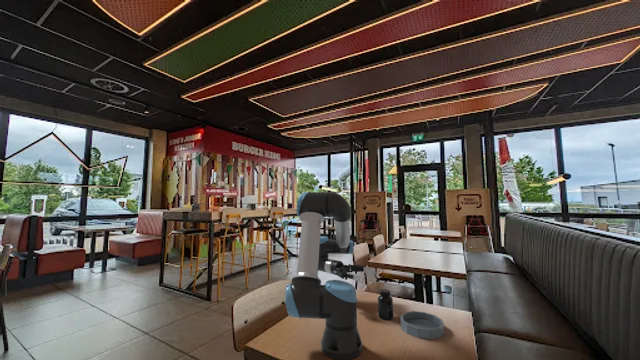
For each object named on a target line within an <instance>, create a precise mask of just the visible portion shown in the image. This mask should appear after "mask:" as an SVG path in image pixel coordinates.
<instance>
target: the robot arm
mask: <svg viewBox="0 0 640 360" xmlns="http://www.w3.org/2000/svg"><path fill="white" fill-rule="evenodd" d="M295 211H296V216H297V217H299V221H301V228H300V239H299V246H298V247H299V248H298V256H297V257H298V258H297V265H296V273H295V275H294V276H293V277H292V278H291V283H287V284H286V288H285V306H286V311H287V314H288V316H289V317H291V318H298V319H319V320H320V319H322V320H325V325H324V326H325V327H324V330H323V334H322V338H321V341H320V350H321V351H322V353H323V354H324V355H325V356H326V357H328V358H330V359H333V360H352V359H355V358H358V357H359V355H361V354H362V352H363V341H362V338H361V335H360V331H359V328H358V316H357V314H358V313H357V312H358V311H357V309H358V308H357V301H358V297H357V289H356V287H355V286H354V285H353V284H351V283H350V282H347V280H348V279H349V280H353V281H357V282H360V281H361V275H360V274H358V273H355V272H361V273H364V274H369V275H376V269H375V268H373V267H371V268H370V267H367V265H359V264H344V263H343V261H341V260H335V259H332V258H329V254H332V255H333V254H334V255H335V254H336V255H337V254H339V255H351V254H352V255H353V254H354V251H355V249H354V246H355V245H354V244H355V243H354V241H353V240H351V231H350V230H351V229H350V228H351V227H350V220H351V218H352V207H351V205H350V203H349V202H348V201H347V199H346V198H345V197H343V196H342V195H341V194H339V193H337V192H335V191H317V192H316V191H315V192H312V191H307V192H302V193H300V195H299V196H298V198H297V201H296V210H295ZM326 217H327V218H332V219H333V220H334V228H335V240H334V239H329V237H328V236H323V235H321V229H322V227H321V226H322V224H323V222H325V220H326V219H325V218H326ZM319 272H323V273H327V274H329V275H333V276H338V277H339V278H340V279H342V280H340V279H333V280H332V279H330V280H327V281H326V282H325V283H324V284H322V280H321V279H320V278H319V276H318V275H319ZM344 279H345V281H344Z"/></svg>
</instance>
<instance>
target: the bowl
mask: <svg viewBox="0 0 640 360" xmlns="http://www.w3.org/2000/svg"><path fill="white" fill-rule="evenodd" d="M400 328H401V330H402V331H403V332H405V333H406V334H407V335H409V336H413V337H415V338H418V339H424V340H425V339H426V340H427V339H428V340H434V339H440V338H442V337H443V336H444V335H445V323H444V320H443V319H442V318H440V317H438V316H437V315H435V314H432V313H429V312H426V311H416V310H415V311H414V310H412V311H406V312H404V313H402V314H401V315H400Z"/></svg>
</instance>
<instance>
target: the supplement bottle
mask: <svg viewBox="0 0 640 360" xmlns="http://www.w3.org/2000/svg"><path fill="white" fill-rule="evenodd" d="M377 309H378V311H377V312H378V317H379V318H380V319H381V320H384V321H391V320H392V319H394V301H393V297H392V295H391V291H390V290H389V289H386V288H383V289H380V290H379V296H378V297H377Z"/></svg>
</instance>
